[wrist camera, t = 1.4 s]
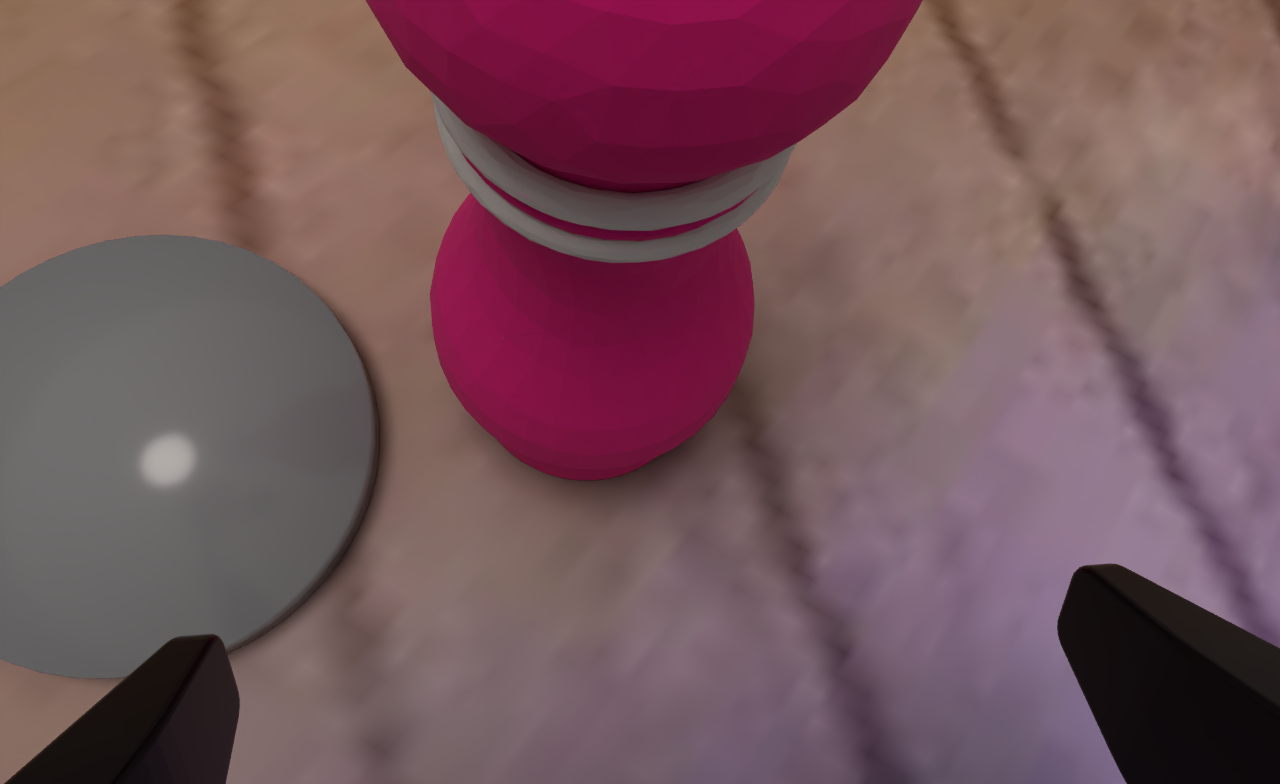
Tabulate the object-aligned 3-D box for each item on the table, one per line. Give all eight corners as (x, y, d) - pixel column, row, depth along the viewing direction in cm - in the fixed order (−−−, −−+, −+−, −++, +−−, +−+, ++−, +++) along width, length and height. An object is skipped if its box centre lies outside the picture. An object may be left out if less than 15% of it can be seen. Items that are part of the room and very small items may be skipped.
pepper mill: (401, 341, 23) (-287, -1028, 4) (612, 207, 25) (795, -1179, 6) (557, 555, 22) (577, -13, 3) (766, 398, 24) (1616, -583, 5)
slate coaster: (464, 484, 22) (459, 475, 21) (72, 779, 20) (42, 788, 18) (230, 183, 24) (214, 160, 23) (-160, 415, 21) (-201, 402, 20)
